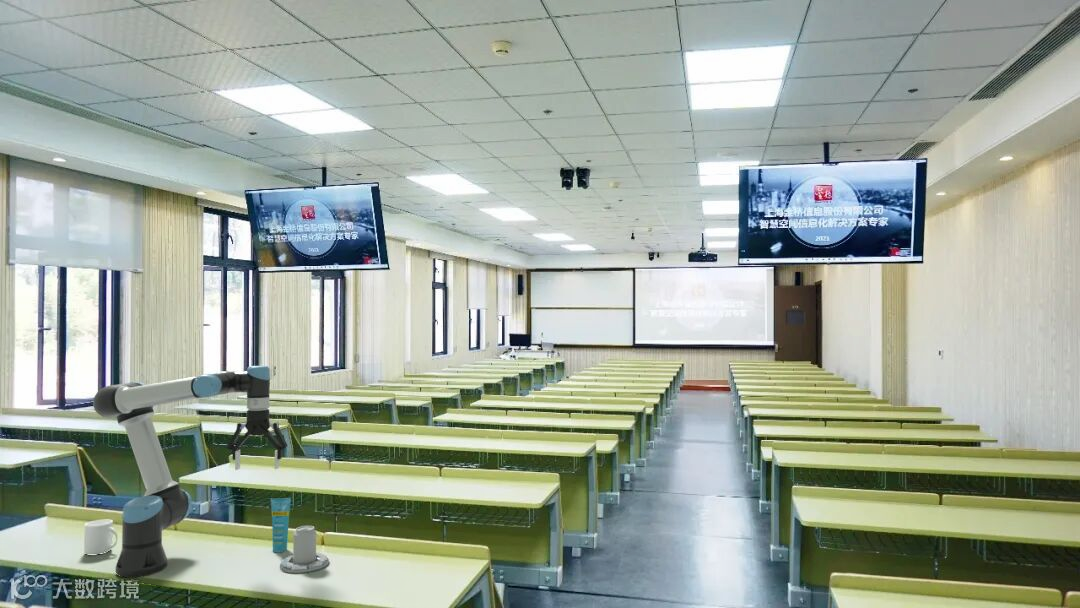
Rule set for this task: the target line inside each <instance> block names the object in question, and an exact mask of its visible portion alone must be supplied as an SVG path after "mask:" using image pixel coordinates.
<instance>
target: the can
mask: <svg viewBox="0 0 1080 608" xmlns="http://www.w3.org/2000/svg"><path fill="white" fill-rule="evenodd" d="M292 536H293V538H292V539H293V540H292V541H293V542H292V543H293V548H292V549H293V551H292V553H293V554H292V555H293V562H294V563H295V564H309V563H313V562H314V561H315V560H316V552H317V530H316V529H315V526H313V525H301V526H298V527H296V528H295V531H294V532H293V535H292Z"/></svg>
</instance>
